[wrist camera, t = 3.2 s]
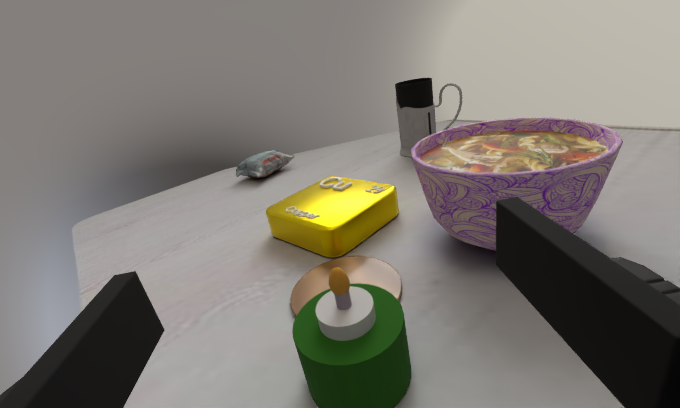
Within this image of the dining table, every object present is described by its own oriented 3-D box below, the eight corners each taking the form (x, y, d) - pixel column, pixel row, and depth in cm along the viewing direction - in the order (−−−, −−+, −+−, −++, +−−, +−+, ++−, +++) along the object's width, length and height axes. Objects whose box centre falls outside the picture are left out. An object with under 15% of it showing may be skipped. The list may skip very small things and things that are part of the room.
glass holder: (408, 144, 84) (402, 80, 78) (469, 144, 76) (467, 72, 70) (393, 156, 78) (385, 87, 72) (457, 157, 70) (454, 79, 64)
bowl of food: (480, 188, 55) (478, 114, 50) (638, 223, 39) (657, 121, 34) (386, 241, 45) (374, 157, 40) (546, 316, 29) (556, 192, 25)
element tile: (267, 235, 53) (258, 207, 51) (334, 197, 62) (329, 172, 60) (336, 262, 43) (329, 228, 41) (404, 211, 52) (401, 182, 50)
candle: (426, 405, 24) (413, 291, 20) (311, 434, 24) (273, 323, 20) (395, 323, 32) (380, 228, 28) (306, 344, 31) (279, 251, 28)
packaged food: (296, 165, 85) (291, 146, 83) (260, 184, 76) (254, 163, 74) (272, 165, 90) (267, 146, 88) (236, 182, 82) (229, 162, 80)
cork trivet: (356, 248, 45) (355, 245, 45) (426, 288, 35) (426, 284, 35) (273, 293, 39) (272, 290, 39) (330, 355, 30) (329, 351, 30)
